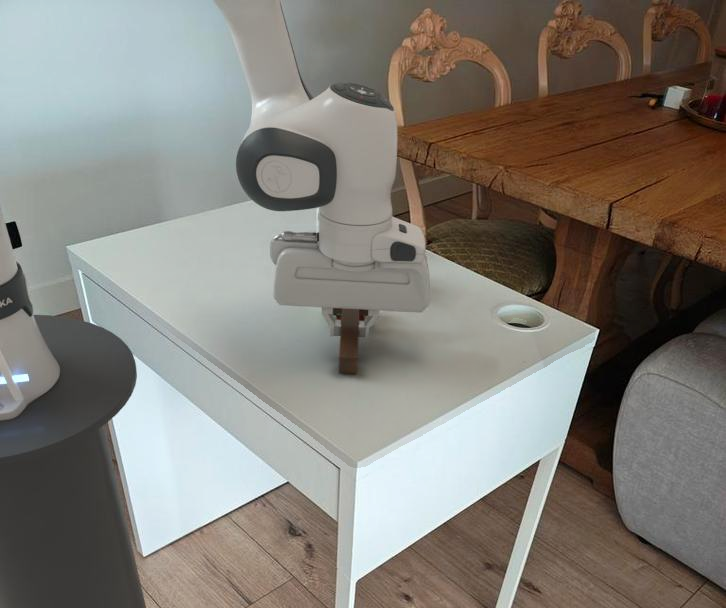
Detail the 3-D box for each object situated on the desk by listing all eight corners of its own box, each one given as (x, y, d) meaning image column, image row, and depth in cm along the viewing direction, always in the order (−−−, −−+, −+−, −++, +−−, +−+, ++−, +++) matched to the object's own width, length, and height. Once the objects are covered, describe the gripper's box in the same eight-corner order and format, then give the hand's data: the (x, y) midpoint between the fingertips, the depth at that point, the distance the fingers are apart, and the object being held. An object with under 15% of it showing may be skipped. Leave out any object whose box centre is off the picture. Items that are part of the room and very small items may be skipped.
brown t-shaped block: (317, 372, 93) (317, 349, 89) (322, 308, 101) (322, 284, 97) (378, 375, 93) (380, 353, 90) (378, 311, 101) (380, 288, 98)
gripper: (266, 240, 84) (270, 343, 93) (438, 250, 85) (424, 350, 94) (272, 220, 89) (274, 319, 98) (434, 229, 89) (421, 327, 98)
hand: (349, 335), depth 96 cm, fingers closed on brown t-shaped block, 2 cm apart
